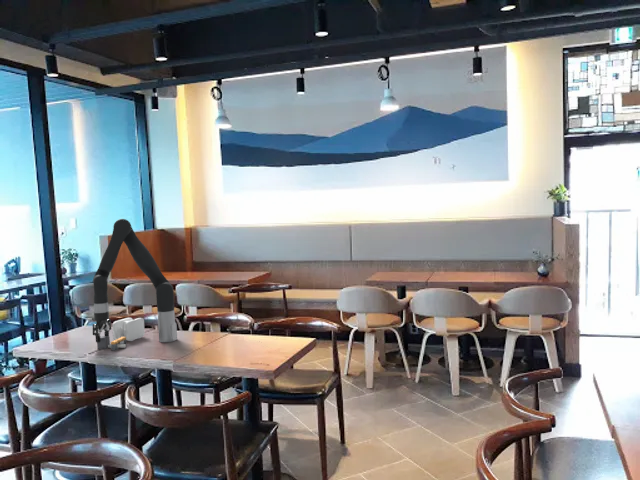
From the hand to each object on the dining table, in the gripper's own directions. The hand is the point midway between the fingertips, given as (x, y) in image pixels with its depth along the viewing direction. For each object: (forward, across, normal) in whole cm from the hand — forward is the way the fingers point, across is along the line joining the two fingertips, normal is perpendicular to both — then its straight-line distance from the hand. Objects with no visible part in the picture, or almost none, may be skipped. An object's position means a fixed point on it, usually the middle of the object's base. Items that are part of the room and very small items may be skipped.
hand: (102, 340), depth 286 cm
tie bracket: (+4, 0, -10) cm, 10 cm away
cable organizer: (+4, +19, -5) cm, 20 cm away
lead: (+4, 0, -6) cm, 7 cm away
